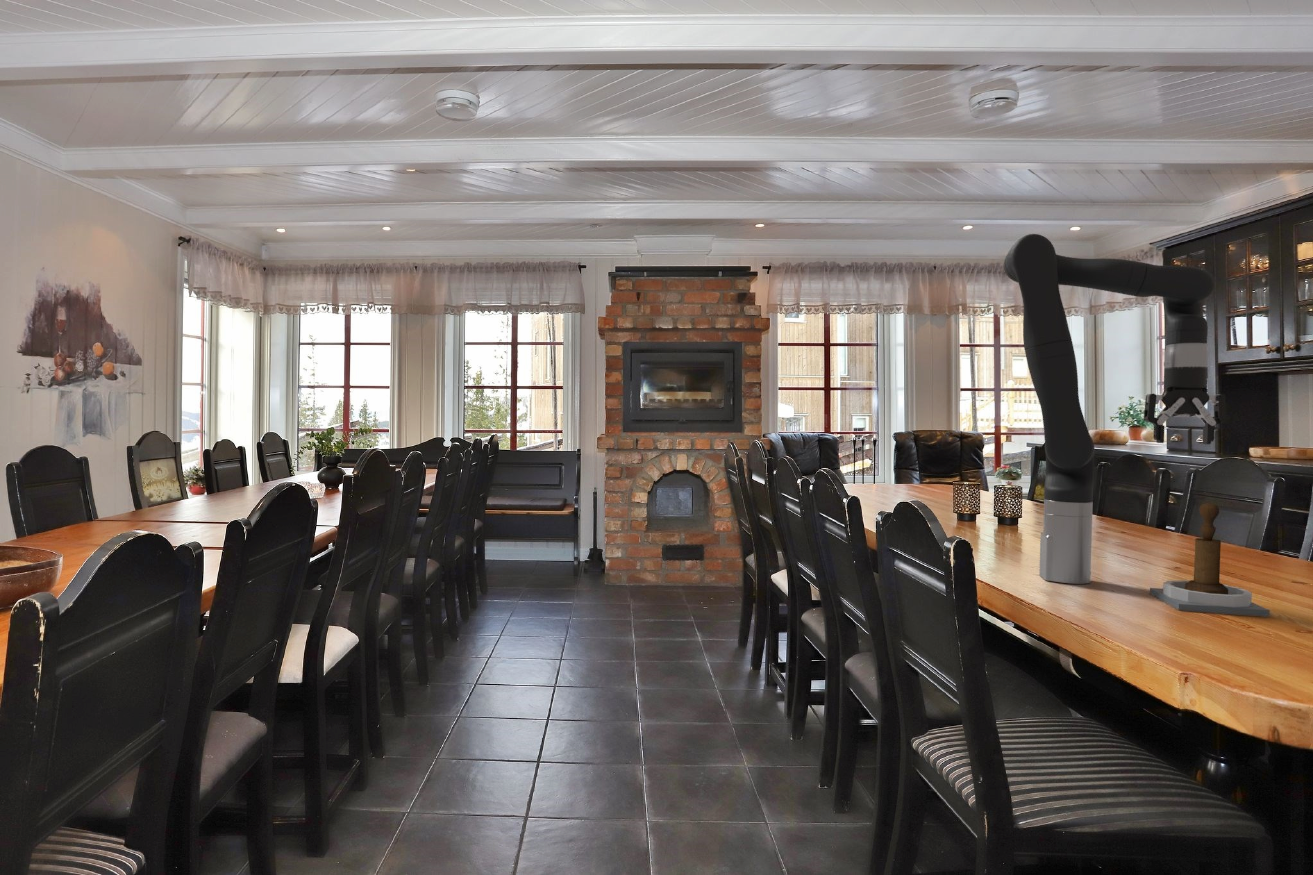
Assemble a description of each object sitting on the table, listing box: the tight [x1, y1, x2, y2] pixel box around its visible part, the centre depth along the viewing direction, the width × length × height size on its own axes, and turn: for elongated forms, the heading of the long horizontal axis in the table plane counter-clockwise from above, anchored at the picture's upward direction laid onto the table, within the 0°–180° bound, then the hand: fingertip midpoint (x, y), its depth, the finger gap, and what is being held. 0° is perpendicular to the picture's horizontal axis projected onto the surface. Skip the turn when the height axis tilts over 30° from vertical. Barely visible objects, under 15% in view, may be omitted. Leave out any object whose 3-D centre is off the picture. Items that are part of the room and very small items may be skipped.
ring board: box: [1149, 579, 1271, 618], centre depth 140 cm, size 14×14×3 cm
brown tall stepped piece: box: [1185, 502, 1228, 595], centre depth 140 cm, size 7×6×18 cm
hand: (1183, 443), depth 156 cm, fingers open, 8 cm apart
